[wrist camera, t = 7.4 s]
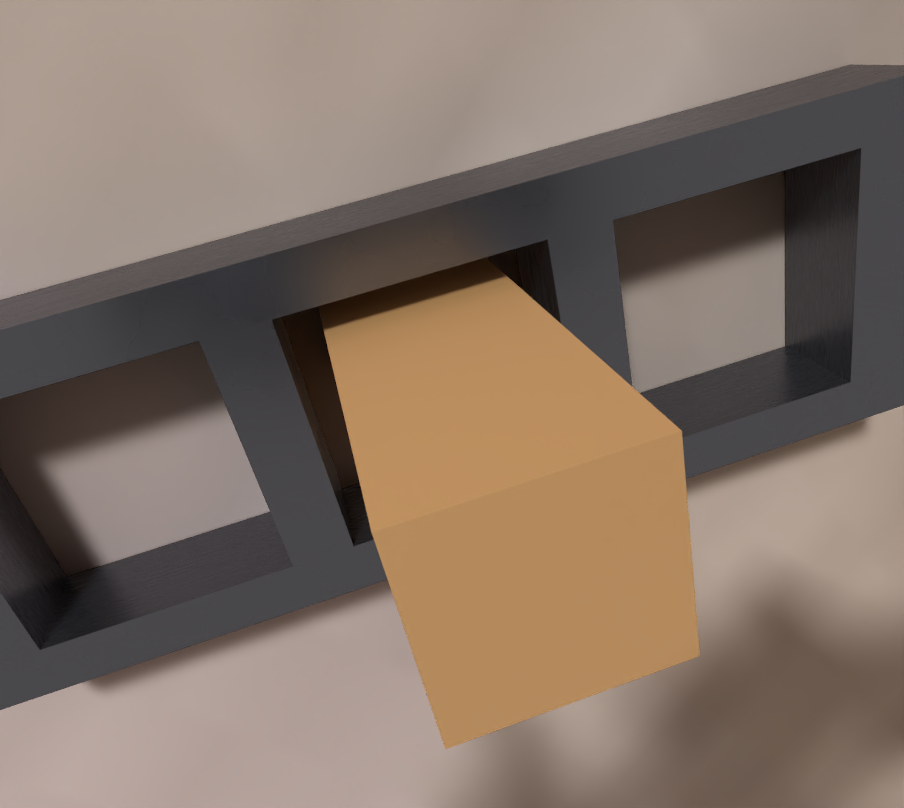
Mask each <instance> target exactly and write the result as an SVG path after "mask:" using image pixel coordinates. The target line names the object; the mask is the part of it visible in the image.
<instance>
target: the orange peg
mask: <svg viewBox="0 0 904 808" xmlns="http://www.w3.org/2000/svg"><path fill="white" fill-rule="evenodd" d="M318 308H319V312H320V317H321V321H322V325H323V329H324V334H325V338H326V342H327V346H328V351H329V355H330V359H331V363H332V367H333V372H334V376H335V380H336V384H337V389H338V393H339V397H340V401H341V406H342V410H343V414H344V418H345V422H346V427H347V431H348V435H349V439H350V444H351V448H352V452H353V456H354V461H355V465H356V469H357V473H358V477H359V482H360V486H361V490H362V494H363V499H364V503H365V507H366V511H367V516H368V520H369V524H370V528H371V532H372V535H373V538H374V541H375V544H376V547H377V550H378V553H379V556H380V559H381V562H382V565H383V568H384V571H385V573H386V576H387V579H388V582H389V585H390V588H391V591H392V594H393V597H394V600H395V603H396V606H397V609H398V612H399V614H400V617H401V620H402V623H403V626H404V629H405V632H406V635H407V638H408V641H409V644H410V647H411V650H412V653H413V655H414V658H415V661H416V664H417V667H418V670H419V673H420V676H421V679H422V682H423V685H424V688H425V691H426V694H427V696H428V699H429V702H430V705H431V708H432V711H433V714H434V717H435V720H436V723H437V726H438V729H439V732H440V734H441V737H442V740H443V743H444V746H445V749H447V748H450V747H453V746H456V745H458V744H461V743H464V742H466V741H469V740H472V739H475V738H477V737H480V736H483V735H486V734H488V733H491V732H494V731H496V730H499V729H502V728H505V727H507V726H510V725H513V724H516V723H518V722H521V721H524V720H526V719H529V718H532V717H535V716H537V715H540V714H543V713H546V712H548V711H551V710H554V709H556V708H559V707H562V706H565V705H567V704H570V703H573V702H576V701H578V700H581V699H584V698H586V697H589V696H592V695H595V694H597V693H600V692H603V691H606V690H608V689H611V688H614V687H616V686H619V685H622V684H625V683H627V682H630V681H633V680H636V679H638V678H641V677H644V676H646V675H649V674H652V673H655V672H657V671H660V670H663V669H666V668H668V667H671V666H674V665H676V664H679V663H682V662H685V661H687V660H690V659H693V658H696V657H698V656H700V653H699V640H698V628H697V615H696V603H695V590H694V577H693V565H692V552H691V540H690V527H689V514H688V502H687V489H686V477H685V464H684V452H683V439H682V430H680V429H679V428H678V427H677V426H676V425H675V424H674V423H673V422H671V421H670V420H669V419H668V418H667V417H666V416H665V415H664V414H662V413H661V412H660V411H659V410H658V409H657V408H656V407H654V406H653V405H652V404H651V403H650V402H649V401H648V400H647V399H645V398H644V397H643V396H642V395H641V394H640V393H639V392H638V391H636V390H635V389H634V388H633V387H632V386H631V385H630V384H628V383H627V382H626V381H625V380H624V379H623V378H622V377H621V376H619V375H618V374H617V373H616V372H615V371H614V370H613V369H611V368H610V367H609V366H608V365H607V364H606V363H605V362H604V361H602V360H601V359H600V358H599V357H598V356H597V355H596V354H595V353H593V352H592V351H591V350H590V349H589V348H588V347H587V346H585V345H584V344H583V343H582V342H581V341H580V340H579V339H578V338H576V337H575V336H574V335H573V334H572V333H571V332H570V331H569V330H567V329H566V328H565V327H564V326H563V325H562V324H561V323H559V322H558V321H557V320H556V319H555V318H554V317H553V316H552V315H550V314H549V313H548V312H547V311H546V310H545V309H544V308H542V307H541V306H540V305H539V304H538V303H537V302H536V301H535V300H533V299H532V298H531V297H530V296H529V295H528V294H527V293H526V292H524V291H523V290H522V289H521V288H520V287H519V286H518V285H516V284H515V283H514V282H513V281H512V280H511V279H510V278H509V277H507V276H506V275H505V274H504V273H503V272H502V271H501V270H499V269H498V268H497V267H496V266H495V265H494V264H493V263H492V262H490V261H489V260H488V259H487V258H486V257H485V258H482V259H479V260H475V261H472V262H468V263H465V264H461V265H458V266H455V267H451V268H448V269H444V270H441V271H437V272H434V273H430V274H427V275H424V276H420V277H417V278H413V279H410V280H406V281H403V282H400V283H396V284H393V285H389V286H386V287H382V288H379V289H376V290H372V291H369V292H365V293H362V294H358V295H355V296H352V297H348V298H345V299H341V300H338V301H334V302H331V303H328V304H324V305H321V306H318Z"/></svg>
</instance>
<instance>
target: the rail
mask: <svg viewBox="0 0 904 808" xmlns="http://www.w3.org/2000/svg"><path fill="white" fill-rule="evenodd" d="M784 170H785V241H786V346H785V347H782V348H779V349H776V350H773V351H770V352H767V353H764V354H760V355H757V356H754V357H751V358H748V359H745V360H742V361H739V362H736V363H732V364H729V365H726V366H723V367H720V368H717V369H714V370H711V371H707V372H704V373H701V374H698V375H695V376H692V377H689V378H686V379H683V380H679V381H676V382H673V383H670V384H667V385H664V386H661V387H658V388H654V389H651V390H648V391H645V392H642V393H640V394H641V395H642V396H643V397H644V398H645V399H647V400H648V401H649V402H650V403H651V404H652V405H653V406H654V407H656V408H657V409H658V410H659V411H660V412H661V413H662V414H664V415H665V416H666V417H667V418H668V419H669V420H670V421H671V422H673V423H674V424H675V425H676V426H677V427H678V428H679V429H680V430H682V439H683V452H684V464H685V477H686V478H689V477H692V476H695V475H698V474H701V473H704V472H707V471H710V470H713V469H716V468H719V467H722V466H725V465H728V464H731V463H734V462H737V461H740V460H743V459H746V458H749V457H751V456H754V455H757V454H760V453H763V452H766V451H769V450H772V449H775V448H778V447H781V446H784V445H787V444H790V443H793V442H796V441H799V440H802V439H805V438H808V437H811V436H814V435H817V434H820V433H823V432H826V431H829V430H832V429H834V428H837V427H840V426H843V425H846V424H849V423H852V422H855V421H858V420H861V419H864V418H867V417H870V416H873V415H876V414H879V413H882V412H885V411H888V410H891V409H894V408H897V407H900V406H903V405H904V65H848V66H844V67H841V68H837V69H833V70H830V71H826V72H822V73H819V74H815V75H812V76H808V77H804V78H801V79H797V80H794V81H790V82H786V83H783V84H779V85H776V86H772V87H768V88H765V89H761V90H757V91H754V92H750V93H747V94H743V95H739V96H736V97H732V98H729V99H725V100H721V101H718V102H714V103H711V104H707V105H703V106H700V107H696V108H692V109H689V110H685V111H682V112H678V113H674V114H671V115H667V116H664V117H660V118H656V119H653V120H649V121H646V122H642V123H638V124H635V125H631V126H627V127H624V128H620V129H617V130H613V131H609V132H606V133H602V134H599V135H595V136H591V137H588V138H584V139H581V140H577V141H573V142H570V143H566V144H562V145H559V146H555V147H552V148H548V149H544V150H541V151H537V152H534V153H530V154H526V155H523V156H519V157H516V158H512V159H508V160H505V161H501V162H497V163H494V164H490V165H487V166H483V167H479V168H476V169H472V170H469V171H465V172H461V173H458V174H454V175H451V176H447V177H443V178H440V179H436V180H432V181H429V182H425V183H422V184H418V185H414V186H411V187H407V188H404V189H400V190H396V191H393V192H389V193H386V194H382V195H378V196H375V197H371V198H367V199H364V200H360V201H357V202H353V203H349V204H346V205H342V206H339V207H335V208H331V209H328V210H324V211H321V212H317V213H313V214H310V215H306V216H303V217H299V218H295V219H292V220H288V221H284V222H281V223H277V224H274V225H270V226H266V227H263V228H259V229H256V230H252V231H248V232H245V233H241V234H238V235H234V236H230V237H227V238H223V239H219V240H216V241H212V242H209V243H205V244H201V245H198V246H194V247H191V248H187V249H183V250H180V251H176V252H173V253H169V254H165V255H162V256H158V257H154V258H151V259H147V260H144V261H140V262H136V263H133V264H129V265H126V266H122V267H118V268H115V269H111V270H108V271H104V272H100V273H97V274H93V275H89V276H86V277H82V278H79V279H75V280H71V281H68V282H64V283H61V284H57V285H53V286H50V287H46V288H43V289H39V290H35V291H32V292H28V293H24V294H21V295H17V296H14V297H10V298H6V299H3V300H0V399H2V398H5V397H9V396H12V395H15V394H19V393H22V392H26V391H29V390H33V389H36V388H39V387H43V386H46V385H50V384H53V383H57V382H60V381H63V380H67V379H70V378H74V377H77V376H81V375H84V374H87V373H91V372H94V371H98V370H101V369H105V368H108V367H111V366H115V365H118V364H122V363H125V362H129V361H132V360H135V359H139V358H142V357H146V356H149V355H153V354H156V353H160V352H163V351H166V350H170V349H173V348H177V347H180V346H184V345H187V344H190V343H194V342H197V341H199V343H200V346H201V348H202V350H203V353H204V355H205V357H206V360H207V362H208V365H209V367H210V369H211V372H212V374H213V376H214V379H215V381H216V384H217V386H218V388H219V391H220V393H221V396H222V398H223V400H224V403H225V405H226V407H227V410H228V412H229V415H230V417H231V419H232V422H233V424H234V426H235V429H236V431H237V434H238V436H239V438H240V441H241V443H242V446H243V448H244V450H245V453H246V455H247V457H248V460H249V462H250V465H251V467H252V469H253V472H254V474H255V476H256V479H257V481H258V484H259V486H260V488H261V491H262V493H263V496H264V498H265V500H266V503H267V505H268V507H269V510H270V512H268V513H265V514H262V515H259V516H256V517H253V518H249V519H246V520H243V521H240V522H237V523H234V524H231V525H228V526H225V527H221V528H218V529H215V530H212V531H209V532H206V533H203V534H200V535H196V536H193V537H190V538H187V539H184V540H181V541H178V542H175V543H172V544H168V545H165V546H162V547H159V548H156V549H153V550H150V551H147V552H144V553H140V554H137V555H134V556H131V557H128V558H125V559H122V560H119V561H115V562H112V563H109V564H106V565H103V566H100V567H97V568H94V569H91V570H87V571H84V572H81V573H78V574H75V575H72V576H69V577H66V575H65V573H64V572H63V570H62V569H61V567H60V565H59V564H58V562H57V560H56V559H55V557H54V556H53V554H52V552H51V551H50V549H49V548H48V546H47V544H46V543H45V541H44V539H43V538H42V536H41V535H40V533H39V531H38V530H37V528H36V526H35V525H34V523H33V522H32V520H31V518H30V517H29V515H28V514H27V512H26V510H25V509H24V507H23V505H22V504H21V502H20V501H19V499H18V497H17V496H16V494H15V492H14V491H13V489H12V488H11V486H10V484H9V483H8V481H7V480H6V478H5V476H4V475H3V473H2V471H1V470H0V710H2V709H5V708H8V707H11V706H14V705H16V704H19V703H22V702H25V701H28V700H31V699H34V698H37V697H40V696H43V695H46V694H49V693H52V692H55V691H58V690H61V689H64V688H67V687H70V686H73V685H76V684H79V683H82V682H85V681H88V680H91V679H94V678H97V677H99V676H102V675H105V674H108V673H111V672H114V671H117V670H120V669H123V668H126V667H129V666H132V665H135V664H138V663H141V662H144V661H147V660H150V659H153V658H156V657H159V656H162V655H165V654H168V653H171V652H174V651H177V650H179V649H182V648H185V647H188V646H191V645H194V644H197V643H200V642H203V641H206V640H209V639H212V638H215V637H218V636H221V635H224V634H227V633H230V632H233V631H236V630H239V629H242V628H245V627H248V626H251V625H254V624H257V623H260V622H262V621H265V620H268V619H271V618H274V617H277V616H280V615H283V614H286V613H289V612H292V611H295V610H298V609H301V608H304V607H307V606H310V605H313V604H316V603H319V602H322V601H325V600H328V599H331V598H334V597H337V596H340V595H343V594H345V593H348V592H351V591H354V590H357V589H360V588H363V587H366V586H369V585H372V584H375V583H378V582H381V581H384V580H387V576H386V573H385V571H384V568H383V565H382V562H381V559H380V556H379V553H378V550H377V547H376V544H375V541H374V538H373V535H372V532H371V528H370V524H369V520H368V516H367V511H366V507H365V503H364V499H363V494H362V490H361V486H360V483H359V484H355V485H352V486H349V487H346V488H343V489H342V486H341V483H340V480H339V477H338V474H337V472H336V469H335V466H334V463H333V460H332V458H331V455H330V452H329V449H328V446H327V443H326V441H325V438H324V435H323V432H322V429H321V427H320V424H319V421H318V418H317V415H316V412H315V410H314V407H313V404H312V401H311V398H310V396H309V393H308V390H307V387H306V384H305V381H304V379H303V376H302V373H301V370H300V367H299V365H298V362H297V359H296V356H295V353H294V350H293V348H292V345H291V342H290V339H289V336H288V333H287V331H286V328H285V325H284V322H283V319H282V317H283V316H286V315H290V314H293V313H297V312H300V311H304V310H307V309H310V308H314V307H317V306H321V305H324V304H328V303H331V302H334V301H338V300H341V299H345V298H348V297H352V296H355V295H358V294H362V293H365V292H369V291H372V290H376V289H379V288H382V287H386V286H389V285H393V284H396V283H400V282H403V281H406V280H410V279H413V278H417V277H420V276H424V275H427V274H430V273H434V272H437V271H441V270H444V269H448V268H451V267H455V266H458V265H461V264H465V263H468V262H472V261H475V260H479V259H482V258H485V257H489V256H492V255H496V254H499V253H503V252H506V251H509V250H513V249H516V254H517V259H518V265H519V270H520V276H521V281H522V287H523V291H524V292H526V293H527V294H528V295H529V296H530V297H531V298H532V299H533V300H535V301H536V302H537V303H538V304H539V305H540V306H541V307H542V308H544V309H545V310H546V311H547V312H548V313H549V314H550V315H552V316H553V317H554V318H555V319H556V320H557V321H558V322H559V323H561V324H562V325H563V326H564V327H565V328H566V329H567V330H569V331H570V332H571V333H572V334H573V335H574V336H575V337H576V338H578V339H579V340H580V341H581V342H582V343H583V344H584V345H585V346H587V347H588V348H589V349H590V350H591V351H592V352H593V353H595V354H596V355H597V356H598V357H599V358H600V359H601V360H602V361H604V362H605V363H606V364H607V365H608V366H609V367H610V368H611V369H613V370H614V371H615V372H616V373H617V374H618V375H619V376H621V377H622V378H623V379H624V380H625V381H626V382H627V383H628V384H630V385H631V386H632V382H631V373H630V364H629V356H628V347H627V338H626V329H625V321H624V312H623V303H622V294H621V286H620V277H619V268H618V260H617V251H616V242H615V233H614V225H613V220H616V219H619V218H623V217H626V216H629V215H633V214H636V213H640V212H643V211H647V210H650V209H653V208H657V207H660V206H664V205H667V204H671V203H674V202H677V201H681V200H684V199H688V198H691V197H695V196H698V195H701V194H705V193H708V192H712V191H715V190H719V189H722V188H726V187H729V186H732V185H736V184H739V183H743V182H746V181H750V180H753V179H756V178H760V177H763V176H767V175H770V174H774V173H777V172H780V171H784Z"/></svg>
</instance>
